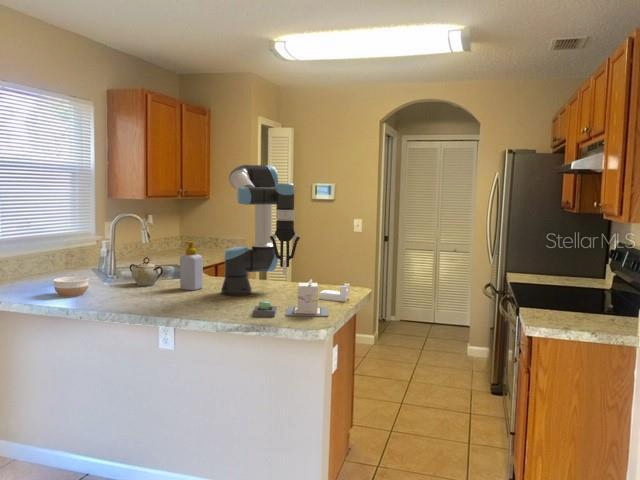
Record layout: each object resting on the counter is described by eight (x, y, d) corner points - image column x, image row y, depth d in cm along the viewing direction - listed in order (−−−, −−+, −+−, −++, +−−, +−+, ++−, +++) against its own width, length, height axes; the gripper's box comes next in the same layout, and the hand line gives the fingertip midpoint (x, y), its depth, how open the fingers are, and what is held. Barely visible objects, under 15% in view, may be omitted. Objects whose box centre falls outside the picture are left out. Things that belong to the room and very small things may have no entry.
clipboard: (285, 316, 224) (285, 314, 224) (287, 307, 240) (287, 305, 240) (328, 316, 224) (328, 315, 224) (327, 308, 240) (327, 306, 240)
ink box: (297, 308, 236) (298, 278, 234) (316, 308, 236) (317, 278, 235) (298, 312, 227) (298, 282, 226) (317, 312, 228) (318, 282, 226)
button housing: (253, 316, 222) (252, 310, 222) (255, 311, 231) (255, 305, 231) (274, 317, 222) (274, 311, 222) (276, 311, 231) (276, 306, 231)
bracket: (349, 299, 261) (349, 284, 260) (345, 302, 254) (345, 286, 253) (324, 296, 265) (324, 281, 264) (319, 299, 258) (319, 284, 258)
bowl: (96, 293, 264) (96, 277, 263) (69, 299, 249) (69, 283, 248) (73, 290, 270) (73, 275, 269) (46, 296, 256) (45, 280, 255)
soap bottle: (179, 289, 276) (178, 241, 273) (189, 286, 284) (189, 240, 282) (193, 291, 273) (193, 242, 270) (203, 288, 281) (203, 240, 278)
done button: (258, 310, 224) (258, 303, 224) (259, 307, 229) (259, 300, 229) (270, 310, 224) (270, 303, 224) (271, 307, 229) (271, 300, 229)
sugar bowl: (169, 283, 294) (169, 256, 292) (155, 288, 279) (155, 259, 278) (137, 281, 298) (137, 254, 296) (122, 286, 283) (121, 258, 282)
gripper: (269, 220, 221) (268, 276, 223) (300, 220, 221) (299, 276, 224) (270, 218, 228) (269, 273, 231) (300, 219, 229) (299, 273, 231)
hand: (284, 274), depth 227 cm, fingers closed
